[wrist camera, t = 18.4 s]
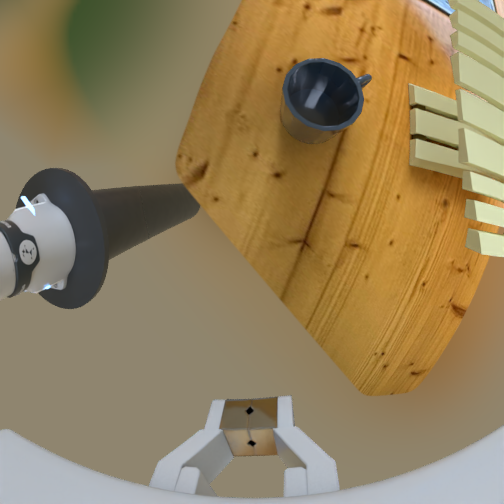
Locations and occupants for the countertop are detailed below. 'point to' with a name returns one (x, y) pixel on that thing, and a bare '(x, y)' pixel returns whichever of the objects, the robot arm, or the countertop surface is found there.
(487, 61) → the slatted lounge chair
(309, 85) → the mug
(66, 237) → the robot arm
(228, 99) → the countertop surface
